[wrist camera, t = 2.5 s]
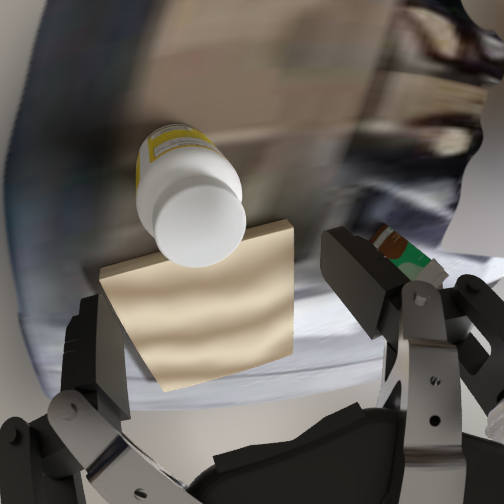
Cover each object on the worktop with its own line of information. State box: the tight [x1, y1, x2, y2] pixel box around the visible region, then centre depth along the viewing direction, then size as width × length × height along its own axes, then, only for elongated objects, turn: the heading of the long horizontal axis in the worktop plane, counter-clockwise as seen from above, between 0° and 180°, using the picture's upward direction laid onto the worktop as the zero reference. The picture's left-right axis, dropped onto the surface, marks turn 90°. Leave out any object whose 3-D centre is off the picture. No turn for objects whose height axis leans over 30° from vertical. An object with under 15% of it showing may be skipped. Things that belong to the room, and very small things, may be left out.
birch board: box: [99, 219, 294, 392], centre depth 29 cm, size 18×16×2 cm
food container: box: [369, 224, 449, 290], centre depth 30 cm, size 12×6×10 cm, turn 33°
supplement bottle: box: [136, 124, 246, 268], centre depth 16 cm, size 5×5×10 cm
